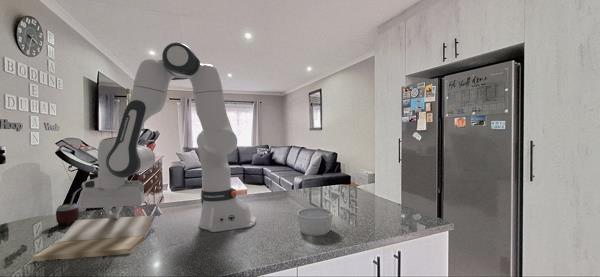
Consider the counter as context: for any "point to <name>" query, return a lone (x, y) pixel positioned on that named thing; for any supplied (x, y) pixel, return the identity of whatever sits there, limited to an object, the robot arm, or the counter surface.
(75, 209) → the mate gourd
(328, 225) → the ramekin
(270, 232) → the counter surface
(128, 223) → the whitewashed plank
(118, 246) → the laid oak row
